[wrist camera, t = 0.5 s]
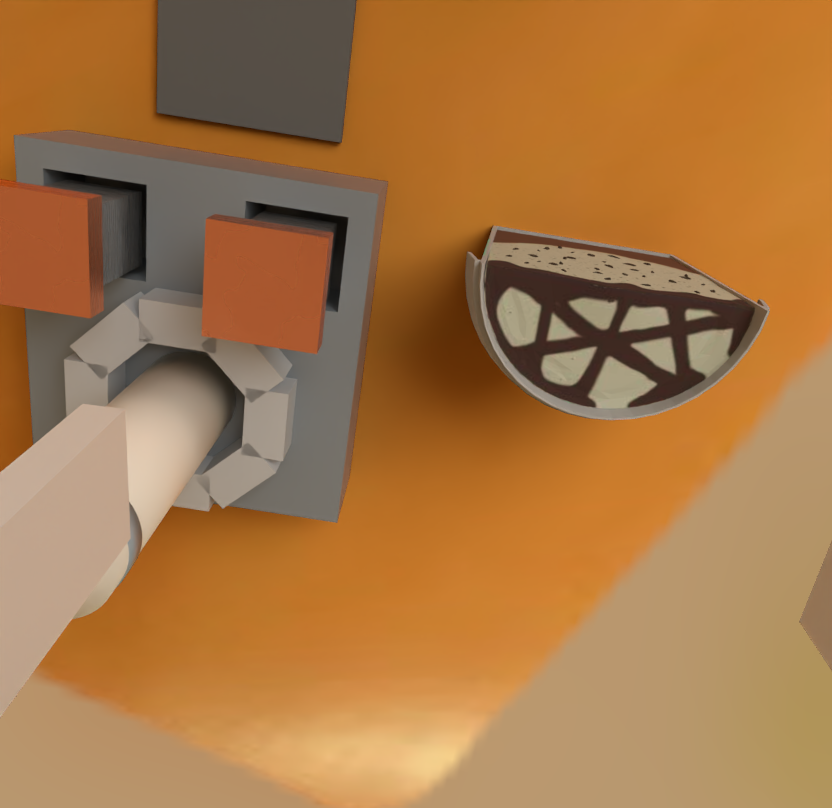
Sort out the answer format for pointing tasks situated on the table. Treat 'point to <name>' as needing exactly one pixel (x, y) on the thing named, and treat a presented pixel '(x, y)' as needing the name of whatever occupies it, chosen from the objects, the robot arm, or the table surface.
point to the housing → (182, 317)
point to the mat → (257, 63)
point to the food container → (605, 323)
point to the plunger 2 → (267, 279)
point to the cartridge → (164, 446)
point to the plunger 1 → (66, 244)
